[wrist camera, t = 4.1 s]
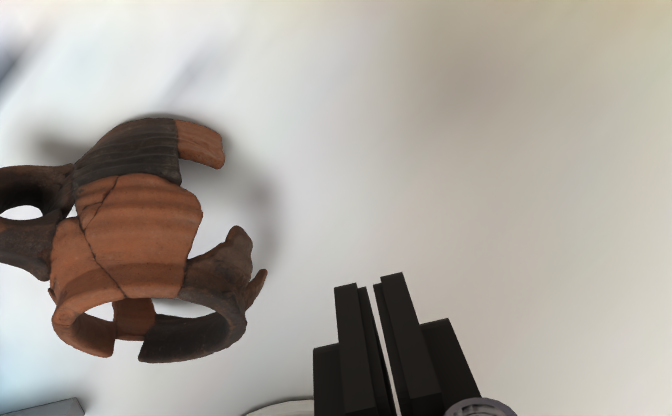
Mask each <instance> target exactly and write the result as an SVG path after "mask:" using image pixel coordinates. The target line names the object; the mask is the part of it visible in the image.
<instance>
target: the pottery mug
mask: <svg viewBox="0 0 672 416" xmlns="http://www.w3.org/2000/svg"><path fill="white" fill-rule="evenodd" d="M178 158H181V159H185V160H192V161H195V162H199V163H202V164H204V165H207V166H210V167H212V168H215V169H220V168H221V167H222V166H223V165H224V162H225V155H224V152H223V146H222V139H221V137H220V135H219V134H218V133H216V132H214V131H212V130H210V129H208V128H206V127H204V126H201V125H197V124H195V123H191V122H185V121H181V120H173V119H168V118H156V119H155V118H145V119H141V120H136V121H130V122H127V123H124V124H121V125H119V126H117V127H115V128H114V129H112V130H111V131H110V132H108V133H107V134H105V135H104V136H103V137H102V138H101V139H100V140H99V141H98V142H97V143H96V145H95V146H94V147H93V148H91V149H90V150H89V151H88V152H87V153H86V154H85V155H84V156H83V157H82V158H81V159H80V160H78V161H77V162H76V163H75V164H74V165H73V164H66V165H63V166H33V165H22V166H9V167H3V168H0V214H1V213H3V212H4V211H6V210H8V209H10V208H14V207H17V206H23V205H31V206H34V207H36V208H39V209H40V210H41V212H42V214H43V216H42V217H39V218H36V219H30V220H12V219H7V218H3V217H0V263H4V264H8V265H12V266H15V267H19V268H22V269H24V270H26V271H28V272H30V273H31V274H32V275H34V276H35V277H36V278H37V279H38V280H40V281H49V280H50V288H49V289H48V292H49V294H50V296H51V298H52V299H53V301H54V302H55V304H56V305H57V306H56V309H55V312H54V314H53V316H52V326H53V328H54V331H55V332H56V334H57V335H58V336H59V338H60V339H61V340H63V341H64V342H65V343H66V344H68V345H71V346H73V347H74V348H76V349H78V350H80V351H83V352H85V353H88V354H91V355H94V356H98V357H103V358H107V357H110V356H112V354H113V350H114V342H115V339H120V340H127V341H144V342H143V345H142V347H141V350H140V354H139V356H138V360H139V361H140V362H146V363H171V362H180V361H187V360H192V359H197V358H201V357H204V356H207V355H210V354H213V353H214V352H218V351H221V350H223V349H225V348H228V347H230V346H231V345H232V344H233V343H235V342H236V341H238V340H239V339H240V338H241V337H242V335H243V334H244V333H245V331H246V326H247V321H246V318H245V311H246V310H247V309H248V308H249V307H250V306H251V305H252V304H253V302H254V300H255V299H256V297H257V296H258V294H259V292H260V291H261V289H262V287H263V284H264V281H265V279H266V276H267V270H266V269H261V270H259V272H258V273H257V275H256V276H255V278H254V279H253V280H252V281H250V279H251V273H252V269H253V267H252V261H251V251H252V248H253V243H252V240H251V238H250V237H249V236H248V235H247V233H246V232H245V231H244V230H243V228H241V227H239V226H237V225H236V226H233V227H232V228H231V229H230V231H229V233H228V235H227V237H226V240H225V242H223V243H220V244H218V245H217V246H216V247H215V248H213V249H211V250H210V251H208V252H206V253H205V254H202V255H199V256H196V257H194V258H191V259H187V257H188V254H189V253H190V250H191V248H192V244H193V240H194V238H195V235H196V233H197V230H198V227H199V225H200V223H201V221H202V218H203V212H202V210H201V205H200V202H199V201H198V199H197V197H196V196H195V195H194V194H193V193H191V192H189V191H188V190H186V189H183V188H182V187H181V186H180V185H181V182H182V179H181V174H180V170H179V162H178ZM74 204H75V207H76V212H77V216H76V217H69V218H66V217H67V215H68V214H69V212H70V211H71V209H72V207H73V205H74ZM249 281H250V282H249ZM150 298H170V299H173V298H179V299H182V300H185V301H189V302H193V303H196V304H200V305H204V306H206V307H209V308H211V309H213V310H215V311H216V312H214V313H212V314H209V315H206V316H202V317H198V318H182V317H176V316H168V315H163V314H156V312H155V310H154V305H153V303H152V301H151V299H150ZM108 302H112V307H113V309H114V318H113V322H111V321H106V320H103V319H100V318H97V317H94V316H91V315H88V314H86V313H84V312H85V311H87V310H89V309H91V308H93V307H96V306H98V305H102V304H104V303H108Z"/></svg>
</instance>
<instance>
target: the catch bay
mask: <svg viewBox="0 0 672 416" xmlns="http://www.w3.org/2000/svg"><path fill="white" fill-rule="evenodd" d="M84 415H85V413H84V412H83V410H82V408H81V406H80V405H79V403H78V401H77V399H76V398H72V399H68V400H63V401H59V402H55V403H50V404H46V405H42V406H37V407H33V408H29V409H24V410H20V411H16V412H11V413H7V414H3V415H0V416H84Z"/></svg>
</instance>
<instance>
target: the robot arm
mask: <svg viewBox="0 0 672 416" xmlns="http://www.w3.org/2000/svg"><path fill="white" fill-rule="evenodd" d="M380 278H381V283H379V284H374V285H373V288H374V292H375V297H376V302H377V306H378V311H379V315H380V320H381V325H382V329H383V334H384V338H385V343H386V348H387V352H388V357H389V361H390V366H391V371H392V375H393V380H394V384H395V389H396V394H397V398H398V402H399V407H400V411H401V415H402V416H517V414H516V413H515V412H514V411H513V410H512V409H511V408H510V407H509V406H507V405H505V404H503V403H501V402H500V401H497V400H493V399H489V398H482V397H481V395H480V392H479V390H478V388H477V385H476V383H475V380H474V378H473V376H472V373H471V371H470V368H469V366H468V364H467V361H466V359H465V356H464V354H463V352H462V349H461V347H460V344H459V342H458V340H457V337H456V335H455V333H454V330H453V328H452V325H451V323H450V321H449V319H448V318H446V319H441V320H437V321H432V322H428V323H424V324H419V322H418V319H417V316H416V313H415V310H414V307H413V304H412V301H411V297H410V294H409V291H408V288H407V285H406V282H405V279H404V276H403V273H402V272H399V273H395V274H391V275H387V276H382V277H380ZM334 295H335V306H336V318H337V329H338V340H339V343H336V344H331V345H327V346H322V347H318V348H314V350H313V383H314V400H300V401H288V402H284V403H279V404H275V405H270V406H267V407H264V408H262V409H259V410H257V411H254V412H252V413H249V414H247V415H246V416H397V413H396V409H395V404H394V399H393V394H392V389H391V385H390V380H389V376H388V372H387V368H386V364H385V360H384V356H383V352H382V348H381V344H380V340H379V336H378V332H377V328H376V324H375V320H374V316H373V312H372V308H371V304H370V300H369V296H368V292H367V289H366V287H361V288H357V284H356V283H352V284H348V285H343V286H339V287H335V288H334Z"/></svg>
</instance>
